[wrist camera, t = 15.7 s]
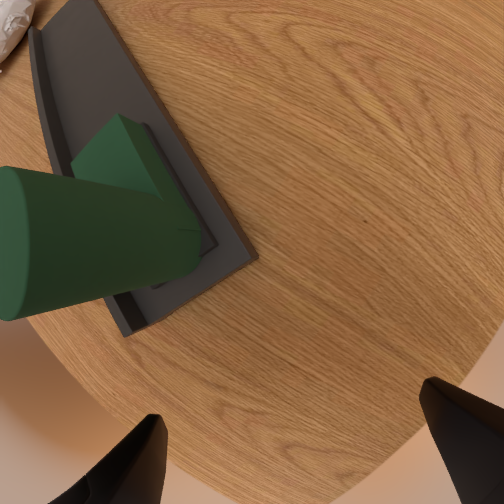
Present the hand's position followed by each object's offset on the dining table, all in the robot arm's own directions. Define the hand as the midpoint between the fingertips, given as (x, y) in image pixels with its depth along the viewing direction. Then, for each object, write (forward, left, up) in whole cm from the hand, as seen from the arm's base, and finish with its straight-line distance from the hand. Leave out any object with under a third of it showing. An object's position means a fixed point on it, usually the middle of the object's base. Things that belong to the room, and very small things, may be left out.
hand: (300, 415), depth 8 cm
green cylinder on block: (+13, +5, -9) cm, 16 cm away
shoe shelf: (+28, +6, -11) cm, 31 cm away
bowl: (+65, +18, -12) cm, 68 cm away
